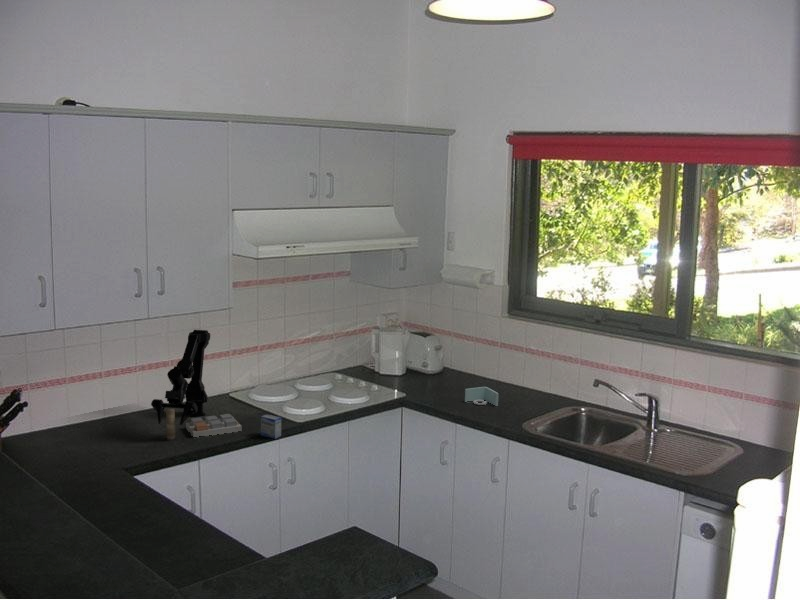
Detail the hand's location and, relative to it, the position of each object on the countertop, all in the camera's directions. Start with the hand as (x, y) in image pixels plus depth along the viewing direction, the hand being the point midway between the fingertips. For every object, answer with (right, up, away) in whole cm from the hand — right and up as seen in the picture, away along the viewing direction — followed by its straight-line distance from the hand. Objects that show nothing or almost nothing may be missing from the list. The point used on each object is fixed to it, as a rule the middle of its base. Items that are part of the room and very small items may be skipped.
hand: (169, 424), depth 347 cm
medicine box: (+41, -7, +10) cm, 43 cm away
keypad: (+15, -5, +15) cm, 22 cm away
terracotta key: (+11, -4, +9) cm, 15 cm away
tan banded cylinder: (0, -7, +2) cm, 7 cm away
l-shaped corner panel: (+137, 0, +63) cm, 151 cm away
